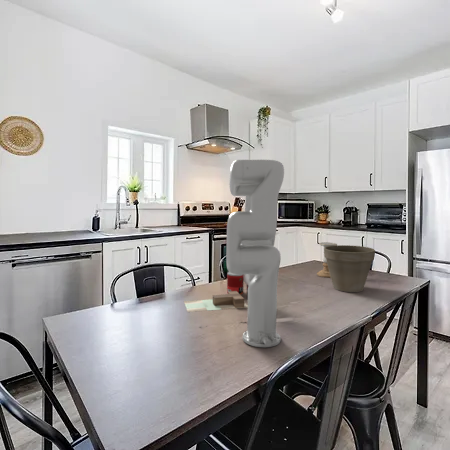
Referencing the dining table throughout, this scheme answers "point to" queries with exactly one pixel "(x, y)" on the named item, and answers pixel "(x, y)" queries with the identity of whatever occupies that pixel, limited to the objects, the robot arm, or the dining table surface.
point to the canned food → (235, 282)
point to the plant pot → (349, 266)
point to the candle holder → (325, 262)
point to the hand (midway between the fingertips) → (250, 300)
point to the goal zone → (204, 305)
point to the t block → (229, 299)
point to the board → (206, 309)
